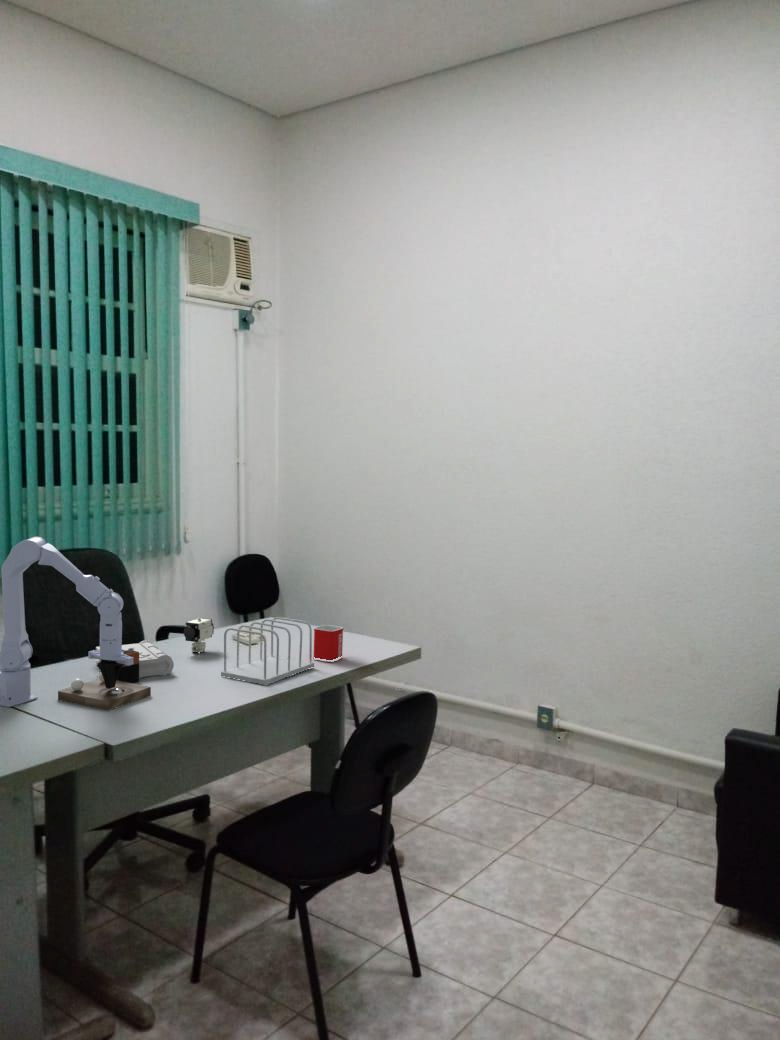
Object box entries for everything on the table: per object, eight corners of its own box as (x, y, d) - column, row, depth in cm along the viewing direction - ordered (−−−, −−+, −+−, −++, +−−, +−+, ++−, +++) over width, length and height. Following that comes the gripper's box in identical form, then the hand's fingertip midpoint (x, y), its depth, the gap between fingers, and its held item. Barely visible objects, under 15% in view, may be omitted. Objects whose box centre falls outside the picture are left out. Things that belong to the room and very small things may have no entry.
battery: (110, 684, 241) (111, 650, 240) (130, 679, 247) (131, 646, 246) (119, 686, 238) (120, 652, 238) (139, 682, 244) (140, 648, 243)
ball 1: (77, 692, 223) (77, 681, 222) (68, 691, 224) (68, 679, 224) (86, 690, 226) (86, 678, 225) (77, 688, 227) (77, 676, 227)
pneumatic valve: (182, 655, 277) (183, 619, 276) (202, 648, 288) (202, 614, 287) (196, 657, 275) (197, 621, 275) (216, 649, 286) (216, 615, 286)
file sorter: (271, 661, 274) (272, 614, 273) (314, 669, 266) (315, 621, 264) (220, 677, 253) (221, 626, 252) (265, 686, 244) (266, 634, 243)
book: (149, 655, 277) (149, 633, 276) (174, 675, 253) (174, 651, 252) (89, 662, 267) (89, 639, 266) (109, 684, 243) (109, 658, 242)
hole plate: (107, 710, 216) (107, 701, 216) (57, 700, 224) (58, 690, 224) (150, 695, 231) (150, 687, 230) (102, 686, 238) (102, 677, 238)
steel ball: (114, 703, 224) (124, 695, 224) (107, 694, 224) (116, 686, 224) (117, 702, 227) (126, 694, 227) (109, 693, 227) (119, 685, 227)
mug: (332, 663, 273) (332, 631, 272) (310, 660, 277) (311, 628, 276) (350, 656, 284) (351, 625, 283) (329, 653, 287) (330, 622, 286)
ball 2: (105, 684, 232) (105, 673, 231) (96, 682, 233) (96, 671, 233) (113, 681, 235) (113, 670, 234) (105, 679, 236) (105, 668, 236)
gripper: (141, 639, 226) (141, 688, 227) (102, 632, 232) (101, 680, 233) (122, 644, 219) (122, 694, 220) (82, 637, 226) (82, 686, 227)
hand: (110, 687), depth 226 cm, fingers closed
